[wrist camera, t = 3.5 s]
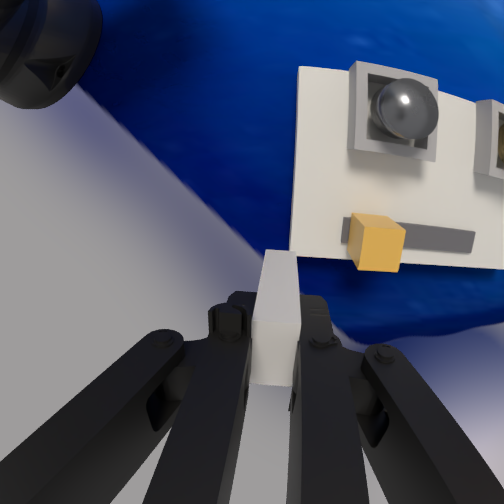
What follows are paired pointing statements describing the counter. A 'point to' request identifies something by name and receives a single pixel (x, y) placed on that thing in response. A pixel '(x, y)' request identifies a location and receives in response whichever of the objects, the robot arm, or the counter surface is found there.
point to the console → (396, 171)
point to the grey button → (405, 110)
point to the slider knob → (375, 242)
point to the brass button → (501, 142)
